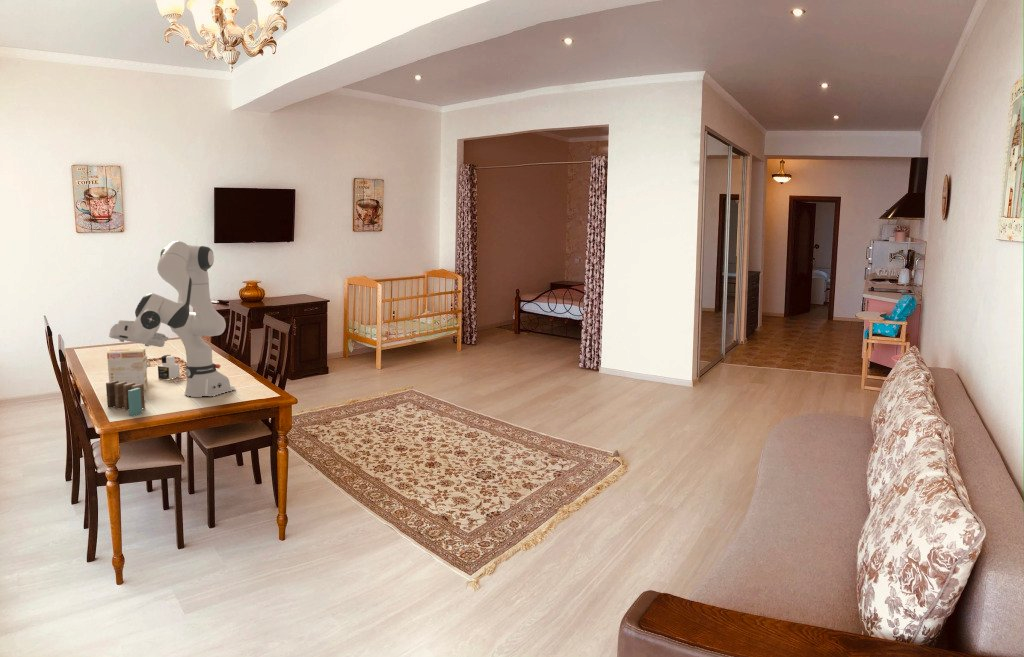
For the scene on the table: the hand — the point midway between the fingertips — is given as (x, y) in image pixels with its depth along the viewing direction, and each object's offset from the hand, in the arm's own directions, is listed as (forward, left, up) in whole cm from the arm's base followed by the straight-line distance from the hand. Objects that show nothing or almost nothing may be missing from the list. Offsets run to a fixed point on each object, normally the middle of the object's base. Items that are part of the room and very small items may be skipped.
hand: (134, 342), depth 279 cm
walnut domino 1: (0, -15, -31) cm, 35 cm away
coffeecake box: (-15, -42, -31) cm, 54 cm away
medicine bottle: (-39, -51, -31) cm, 71 cm away
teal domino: (+1, 0, -31) cm, 31 cm away
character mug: (-26, -54, -31) cm, 67 cm away
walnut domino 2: (-2, -11, -31) cm, 33 cm away
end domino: (+1, -19, -31) cm, 37 cm away
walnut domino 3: (-3, -7, -31) cm, 32 cm away
